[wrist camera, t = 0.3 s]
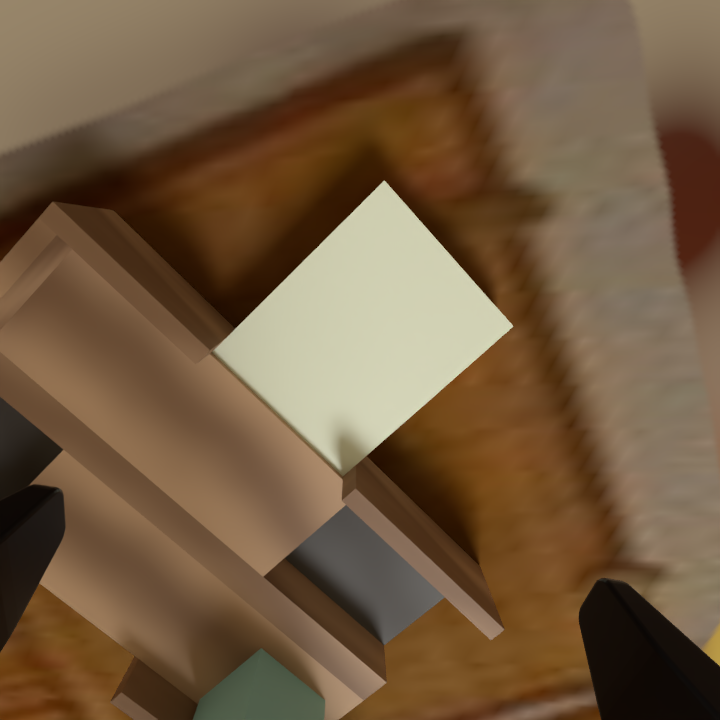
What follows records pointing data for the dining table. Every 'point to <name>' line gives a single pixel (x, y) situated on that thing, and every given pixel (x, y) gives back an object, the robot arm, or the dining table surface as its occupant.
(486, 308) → the board
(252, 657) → the block
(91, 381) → the box
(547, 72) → the dining table surface
